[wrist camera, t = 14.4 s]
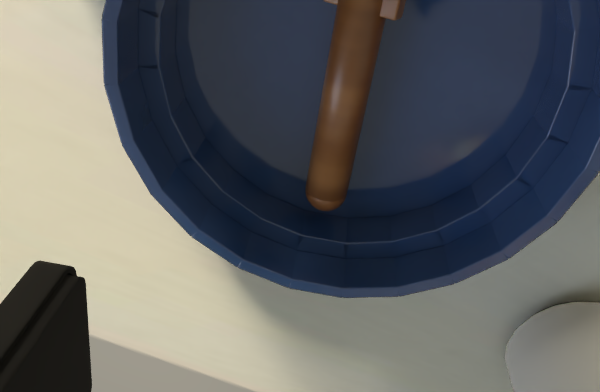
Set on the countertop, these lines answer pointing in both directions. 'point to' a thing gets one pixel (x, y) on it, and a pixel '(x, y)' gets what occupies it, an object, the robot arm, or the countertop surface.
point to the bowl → (373, 138)
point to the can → (557, 350)
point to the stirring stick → (345, 96)
